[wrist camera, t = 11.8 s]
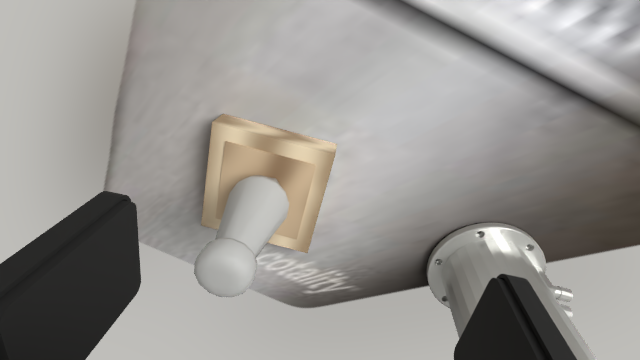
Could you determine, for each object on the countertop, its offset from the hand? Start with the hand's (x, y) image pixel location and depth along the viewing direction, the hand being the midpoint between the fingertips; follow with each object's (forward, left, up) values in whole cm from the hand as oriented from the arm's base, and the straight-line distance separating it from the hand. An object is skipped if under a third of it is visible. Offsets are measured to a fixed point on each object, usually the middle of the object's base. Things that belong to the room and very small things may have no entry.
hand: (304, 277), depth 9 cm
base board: (+5, +12, -27) cm, 30 cm away
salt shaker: (+5, +12, -24) cm, 27 cm away
